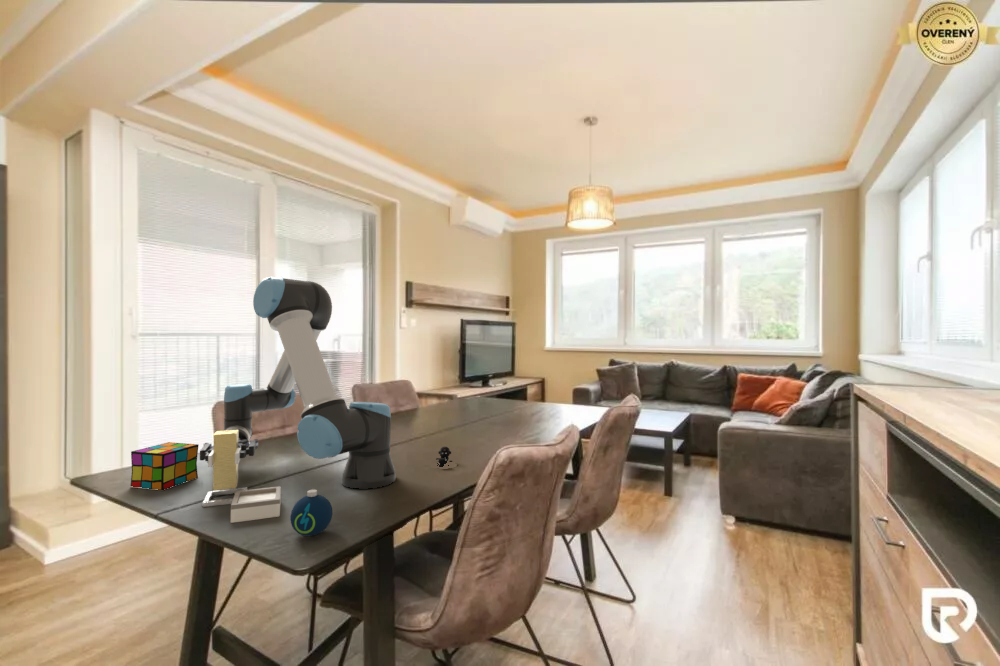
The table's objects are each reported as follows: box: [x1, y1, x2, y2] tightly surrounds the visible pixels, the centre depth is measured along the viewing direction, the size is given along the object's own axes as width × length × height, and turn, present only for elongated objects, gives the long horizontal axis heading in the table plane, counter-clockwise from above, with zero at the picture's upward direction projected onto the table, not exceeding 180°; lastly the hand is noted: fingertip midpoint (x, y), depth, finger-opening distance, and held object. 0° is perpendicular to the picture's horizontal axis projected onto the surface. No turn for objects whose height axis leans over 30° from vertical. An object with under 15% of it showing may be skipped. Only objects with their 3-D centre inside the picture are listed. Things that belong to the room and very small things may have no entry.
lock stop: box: [212, 430, 239, 491], centre depth 118 cm, size 5×5×14 cm
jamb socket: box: [201, 486, 248, 508], centre depth 118 cm, size 9×9×1 cm
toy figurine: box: [435, 446, 453, 467], centre depth 152 cm, size 10×10×6 cm
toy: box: [130, 441, 199, 491], centre depth 130 cm, size 11×10×10 cm
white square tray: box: [230, 485, 282, 524], centre depth 110 cm, size 10×10×4 cm
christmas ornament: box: [289, 489, 334, 537], centre depth 98 cm, size 8×8×10 cm
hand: (223, 460), depth 114 cm, fingers closed on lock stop, 5 cm apart
